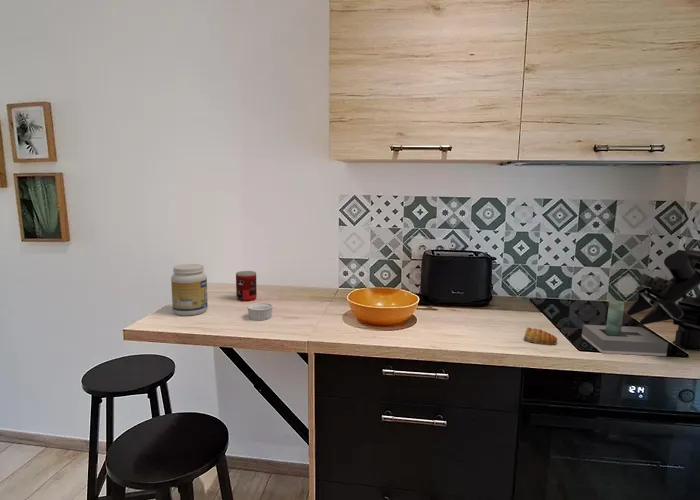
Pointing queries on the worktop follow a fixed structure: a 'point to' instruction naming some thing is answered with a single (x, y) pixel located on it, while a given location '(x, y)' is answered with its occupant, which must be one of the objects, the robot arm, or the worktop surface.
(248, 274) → the canned food
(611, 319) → the teal post
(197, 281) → the supplement tub
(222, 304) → the worktop surface
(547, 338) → the pastry
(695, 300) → the robot arm
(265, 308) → the ramekin
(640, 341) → the keyhole plate
